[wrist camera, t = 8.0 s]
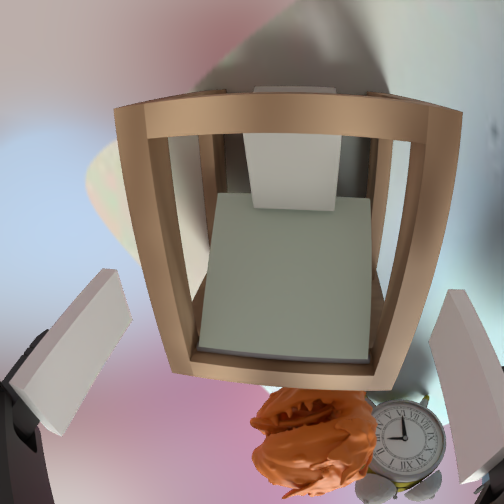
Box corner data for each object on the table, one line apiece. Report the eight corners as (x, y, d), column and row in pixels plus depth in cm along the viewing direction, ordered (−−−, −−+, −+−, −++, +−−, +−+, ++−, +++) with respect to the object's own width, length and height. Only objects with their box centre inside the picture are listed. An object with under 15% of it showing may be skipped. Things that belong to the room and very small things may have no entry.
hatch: (370, 205, 21) (373, 198, 20) (367, 363, 18) (370, 364, 17) (218, 199, 23) (215, 192, 22) (200, 350, 20) (195, 350, 19)
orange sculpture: (293, 272, 29) (266, 464, 14) (393, 310, 30) (423, 484, 14) (253, 348, 35) (215, 501, 20) (340, 375, 35) (335, 521, 20)
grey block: (334, 211, 20) (342, 128, 15) (253, 208, 20) (241, 126, 16) (331, 161, 22) (335, 87, 18) (262, 159, 23) (254, 86, 18)
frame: (390, 93, 20) (462, 112, 10) (370, 277, 28) (391, 390, 17) (203, 90, 22) (113, 108, 12) (218, 269, 30) (172, 372, 20)
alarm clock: (438, 388, 35) (456, 489, 22) (417, 415, 38) (427, 507, 25) (357, 385, 36) (359, 498, 23) (343, 413, 39) (339, 513, 27)
